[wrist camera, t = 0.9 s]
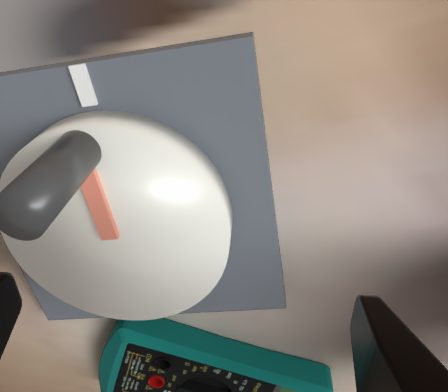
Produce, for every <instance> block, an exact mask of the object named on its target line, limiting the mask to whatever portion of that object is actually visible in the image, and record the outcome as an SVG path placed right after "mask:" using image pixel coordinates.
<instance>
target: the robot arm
mask: <svg viewBox="0 0 448 392" xmlns="http://www.w3.org/2000/svg"><path fill="white" fill-rule="evenodd" d="M21 307H22V299H21V296H20V293H19V290H18V287H17V285H16V282H15V279H14V277H13V275H12V274H11V273H7V272H0V359H1V356H2V354H3V351H4V349H5V347H6V344H7V342H8V340H9V337H10V335H11V332H12V330H13V328H14V325H15V323H16V320H17V318H18V316H19V313H20V311H21ZM350 333H351V343H352V352H353V361H354V371H355V380H356V389H357V392H448V370H447V369H446V368H445V366H444V365H443V364H442V363H441V362H440V361H439V360H438V359H437V358H436V357H435V356H434V355H433V354H432V353H431V352H430V350H429V349H428V348H427V347H426V346H425V345H424V344H423V343H422V342H421V341H420V340H419V339H418V338H417V337H416V336H415V334H414V333H413V332H412V331H411V330H410V329H409V328H408V327H407V326H406V325H405V324H404V323H403V322H402V321H401V320H400V319H399V317H398V316H397V315H396V314H395V313H394V312H393V311H392V310H391V309H390V308H389V307H388V306H387V305H386V304H385V303H384V301H383V300H382V299H381V298H379V297H378V296H373V295H359V296H357V298H356V301H355V305H354V310H353V314H352V319H351V325H350Z"/></svg>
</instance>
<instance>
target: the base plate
mask: <svg viewBox="0 0 448 392" xmlns="http://www.w3.org/2000/svg"><path fill="white" fill-rule="evenodd" d="M101 110H111V111H123V112H129V113H134V114H138V115H142V116H145V117H148V118H151V119H154V120H156V121H158V122H161V123H163V124H165V125H167V126H169V127H171V128H172V129H174V130H176V131H177V132H179V133H181V134H182V135H184V136H185V137H186V138H188V139H189V140H190V141H191V142H193V143H194V144H195V145H196V146H197V147H198V148H199V149H200V150H201V151H202V152H203V153H204V154H205V155H206V156H207V157H208V158H209V160H210V161H211V162H212V163H213V165H214V166H215V167H216V169H217V171H218V172H219V174H220V176H221V177H222V179H223V181H224V184H225V186H226V188H227V191H228V194H229V198H230V202H231V207H232V216H233V218H232V232H231V240H230V248H229V255H228V259H227V264H226V267H225V269H224V272H223V274H222V276H221V278H220V280H219V281H218V283H217V285H216V286H215V287H214V288H213V290H212V291H211V292H210V293H209V294H208V295H207V296H206V297H205V298H203V299H202V300H201V301H200V302H198V303H197V304H195V305H194V306H192V307H191V308H189V309H187V310H184V311H182V312H180V313H178V314H182V313H201V312H221V311H241V310H260V309H280V308H286V299H285V289H284V281H283V273H282V264H281V256H280V248H279V240H278V232H277V224H276V216H275V207H274V199H273V191H272V183H271V175H270V167H269V159H268V150H267V142H266V134H265V126H264V118H263V110H262V102H261V93H260V85H259V77H258V69H257V61H256V53H255V45H254V37H253V32H250V33H244V34H238V35H232V36H225V37H219V38H213V39H207V40H200V41H194V42H188V43H182V44H175V45H169V46H163V47H157V48H150V49H144V50H138V51H131V52H125V53H119V54H113V55H106V56H100V57H94V58H88V59H81V60H75V61H69V62H63V63H56V64H50V65H44V66H38V67H31V68H25V69H19V70H13V71H7V72H0V179H1V176H2V173H3V171H4V170H5V168H6V166H7V165H8V163H9V162H10V160H11V159H12V158H13V157H14V156H15V155H16V154H17V152H19V151H20V150H21V149H22V148H24V147H25V146H26V145H27V144H28V143H30V142H31V141H32V140H33V139H35V138H36V137H37V136H38V135H39V134H41V133H42V132H43V131H44V130H46V129H47V128H48V127H49V126H51V125H53V124H54V123H56V122H58V121H60V120H62V119H64V118H67V117H70V116H72V115H75V114H79V113H84V112H89V111H101ZM0 232H1V231H0ZM19 266H20V265H19ZM20 268H21V266H20ZM21 270H22V272H23V274H24V276H25V277H26V279H27V281H28V283H29V285H30V287H31V289H32V291H33V293H34V294H35V296H36V298H37V300H38V302H39V304H40V306H41V308H42V309H43V311H44V313H45V315H46V317H47V319H48V320H64V319H83V318H103V316H99V315H95V314H92V313H89V312H86V311H84V310H81V309H78V308H76V307H74V306H72V305H70V304H68V303H65V302H64V301H62V300H60V299H59V298H57V297H55V296H53V295H52V294H51V293H49V292H48V291H46V290H45V289H44V288H42V287H41V286H40V285H39V284H38V283H36V282H35V281H34V280H33V279H32V278H31V277H30V276H29V275H28V274H27V273H26V272H25V271H24V270H23V269H22V268H21Z"/></svg>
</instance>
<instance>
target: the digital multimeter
mask: <svg viewBox="0 0 448 392" xmlns="http://www.w3.org/2000/svg"><path fill="white" fill-rule="evenodd" d="M99 381H100V388H101V392H333V387H332V380H331V373H330V368H329V367H328V366H326V365H324V364H321V363H317V362H314V361H310V360H307V359H303V358H299V357H296V356H292V355H288V354H284V353H280V352H276V351H272V350H268V349H265V348H261V347H258V346H254V345H251V344H247V343H244V342H240V341H237V340H233V339H230V338H226V337H223V336H219V335H216V334H213V333H210V332H207V331H204V330H201V329H198V328H194V327H191V326H188V325H185V324H182V323H178V322H175V321H172V320H169V319H166V318H159V319H153V320H120V319H119V320H118V321H117V322H116V324H115V326H114V328H113V330H112V332H111V334H110V336H109V338H108V341H107V343H106V346H105V348H104V351H103V353H102V356H101V360H100V364H99ZM178 384H179V385H178Z"/></svg>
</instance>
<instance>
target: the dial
mask: <svg viewBox="0 0 448 392" xmlns="http://www.w3.org/2000/svg"><path fill="white" fill-rule="evenodd" d="M232 218H233V216H232V207H231V202H230V198H229V194H228V191H227V188H226V186H225V184H224V181H223V179H222V177H221V176H220V174H219V172H218V171H217V169H216V167H215V166H214V165H213V163H212V162H211V161H210V160H209V158H208V157H207V156H206V155H205V154H204V153H203V152H202V151H201V150H200V149H199V148H198V147H197V146H196V145H195V144H194V143H193V142H191V141H190V140H189V139H188V138H186V137H185V136H184V135H182V134H181V133H179V132H177V131H176V130H174V129H172V128H171V127H169V126H167V125H165V124H163V123H161V122H158V121H156V120H154V119H151V118H148V117H145V116H142V115H138V114H134V113H129V112H123V111H111V110H101V111H89V112H84V113H79V114H75V115H72V116H70V117H67V118H64V119H62V120H60V121H58V122H56V123H54V124H53V125H51V126H49V127H48V128H47V129H46V130H44V131H43V132H42V133H41V134H39V135H38V136H37V137H36V138H35V139H33V140H32V141H31V142H30V143H28V144H27V145H26V146H25V147H24V148H22V149H21V150H20V151H19V152H17V154H16V155H15V156H14V157H13V158H12V159H11V160H10V162H9V163H8V165H7V166H6V168H5V170H4V171H3V173H2V176H1V179H0V231H1V234H2V237H3V239H4V241H5V243H6V245H7V247H8V249H9V251H10V252H11V254H12V256H13V257H14V259H15V260H16V261H17V262H18V264H19V265H20V266H21V268H22V269H23V270H24V271H25V272H26V273H27V274H28V275H29V276H30V277H31V278H32V279H33V280H34V281H35V282H36V283H38V284H39V285H40V286H41V287H42V288H44V289H45V290H46V291H48V292H49V293H51V294H52V295H53V296H55V297H57V298H59V299H60V300H62V301H64V302H65V303H68V304H70V305H72V306H74V307H76V308H78V309H81V310H84V311H86V312H89V313H92V314H95V315H99V316H103V317H108V318H113V319H120V320H153V319H159V318H164V317H168V316H171V315H174V314H178V313H180V312H182V311H184V310H187V309H189V308H191V307H192V306H194V305H195V304H197V303H198V302H200V301H201V300H202V299H203V298H205V297H206V296H207V295H208V294H209V293H210V292H211V291H212V290H213V288H214V287H215V286H216V285H217V283H218V281H219V280H220V278H221V276H222V274H223V272H224V269H225V267H226V264H227V259H228V255H229V248H230V240H231V232H232Z"/></svg>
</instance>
